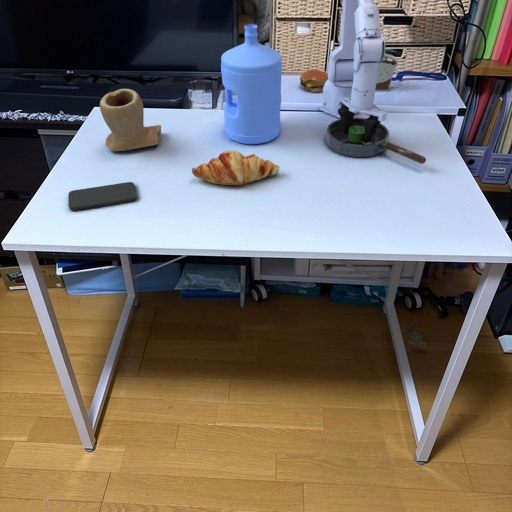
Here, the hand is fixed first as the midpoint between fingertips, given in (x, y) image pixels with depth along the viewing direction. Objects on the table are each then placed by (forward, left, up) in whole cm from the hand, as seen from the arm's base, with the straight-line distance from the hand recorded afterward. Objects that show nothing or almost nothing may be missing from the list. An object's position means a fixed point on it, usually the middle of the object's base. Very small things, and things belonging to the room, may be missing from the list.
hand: (357, 137), depth 132 cm
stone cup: (-40, -44, -2) cm, 59 cm away
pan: (0, 0, -2) cm, 2 cm away
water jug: (-24, -16, -2) cm, 29 cm away
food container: (-20, +34, -2) cm, 39 cm away
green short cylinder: (0, 0, -1) cm, 1 cm away
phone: (-24, -63, -2) cm, 67 cm away
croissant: (-9, -35, -2) cm, 36 cm away
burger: (-33, +20, -2) cm, 39 cm away
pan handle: (+14, 0, 0) cm, 14 cm away
